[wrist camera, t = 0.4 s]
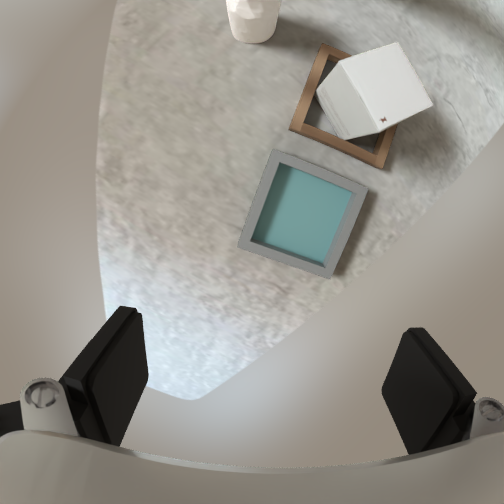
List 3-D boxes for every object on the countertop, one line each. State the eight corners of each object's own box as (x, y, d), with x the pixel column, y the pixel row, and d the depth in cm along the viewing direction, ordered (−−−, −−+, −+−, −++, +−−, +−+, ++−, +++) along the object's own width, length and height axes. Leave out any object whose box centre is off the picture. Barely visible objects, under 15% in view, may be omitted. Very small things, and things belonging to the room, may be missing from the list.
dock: (272, 149, 35) (273, 148, 33) (361, 186, 36) (368, 188, 34) (238, 241, 39) (237, 247, 36) (325, 272, 40) (329, 279, 37)
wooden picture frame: (319, 48, 31) (322, 42, 29) (402, 88, 32) (409, 85, 30) (288, 129, 34) (290, 128, 33) (376, 168, 35) (382, 168, 34)
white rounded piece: (264, -45, 18) (296, -13, 19) (262, 5, 29) (285, 33, 31) (211, -24, 19) (241, 10, 20) (223, 23, 30) (245, 52, 31)
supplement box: (385, 120, 34) (436, 108, 22) (339, 142, 35) (377, 134, 23) (358, 72, 32) (399, 39, 20) (311, 91, 33) (336, 60, 21)
